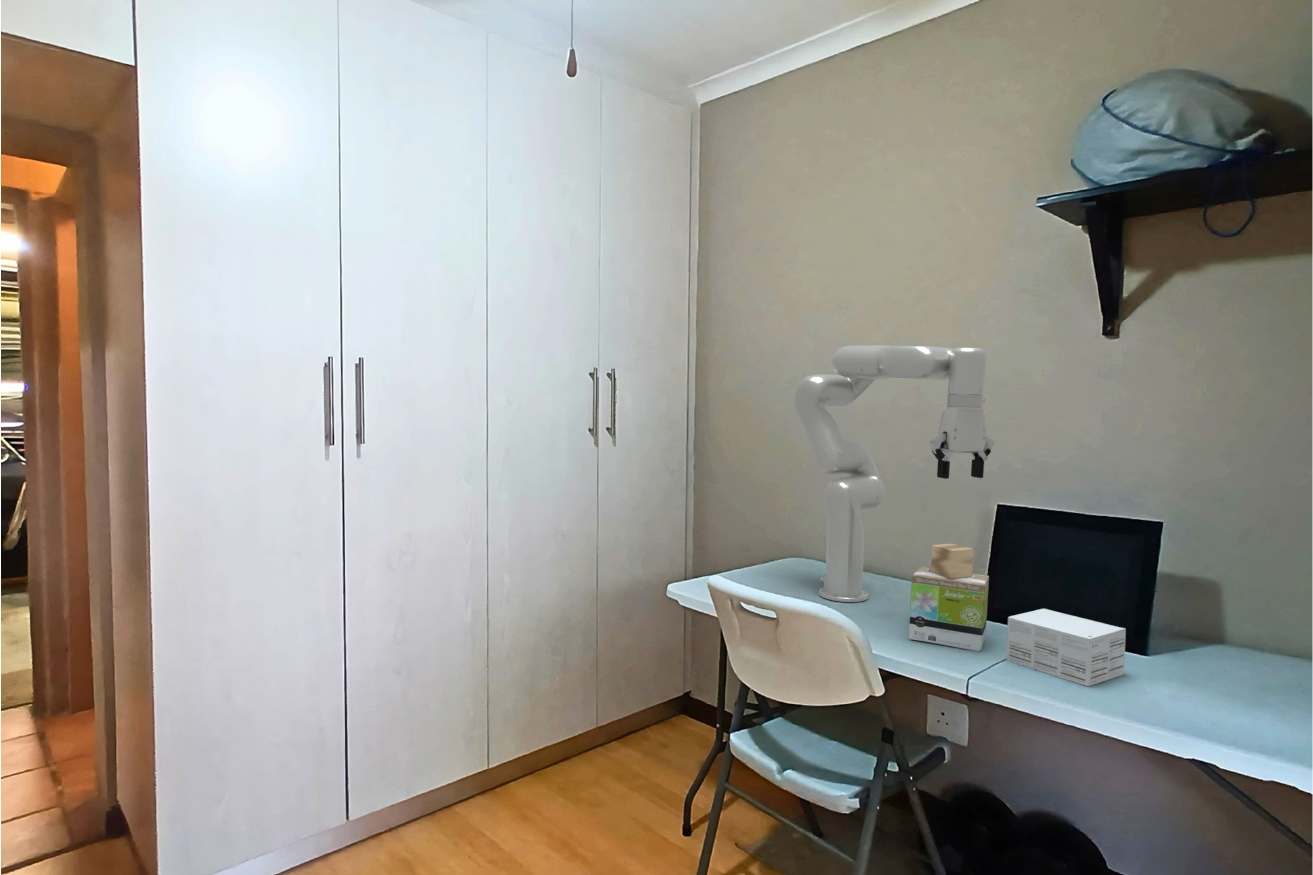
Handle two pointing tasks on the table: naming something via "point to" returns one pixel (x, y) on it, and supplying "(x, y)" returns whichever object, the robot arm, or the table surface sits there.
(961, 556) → the oak block
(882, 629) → the table surface
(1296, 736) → the table surface
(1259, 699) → the table surface
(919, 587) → the tea box
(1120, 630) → the supplement box
